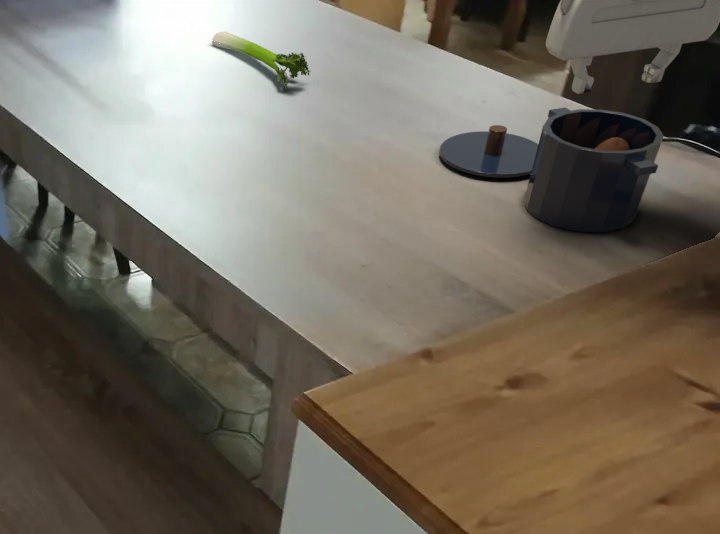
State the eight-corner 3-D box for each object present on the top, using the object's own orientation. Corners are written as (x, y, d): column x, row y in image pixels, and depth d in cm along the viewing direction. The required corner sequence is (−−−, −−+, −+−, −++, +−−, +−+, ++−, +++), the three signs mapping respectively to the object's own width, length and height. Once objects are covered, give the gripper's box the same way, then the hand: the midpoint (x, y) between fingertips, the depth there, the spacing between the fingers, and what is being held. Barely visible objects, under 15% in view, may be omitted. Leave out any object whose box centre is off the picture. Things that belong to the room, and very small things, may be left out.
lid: (510, 132, 141) (517, 102, 138) (566, 172, 130) (575, 141, 127) (420, 146, 139) (425, 116, 136) (470, 188, 128) (477, 156, 125)
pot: (582, 170, 130) (605, 96, 124) (672, 232, 116) (703, 152, 110) (494, 184, 129) (512, 110, 122) (574, 249, 115) (599, 169, 108)
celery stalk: (236, 50, 180) (320, 86, 157) (205, 61, 179) (284, 99, 156) (232, 17, 176) (317, 49, 153) (200, 28, 175) (280, 62, 152)
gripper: (585, -21, 99) (552, 107, 108) (753, -43, 102) (707, 84, 111) (552, -35, 104) (523, 89, 113) (713, -56, 107) (672, 67, 116)
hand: (615, 86), depth 112 cm, fingers open, 8 cm apart
